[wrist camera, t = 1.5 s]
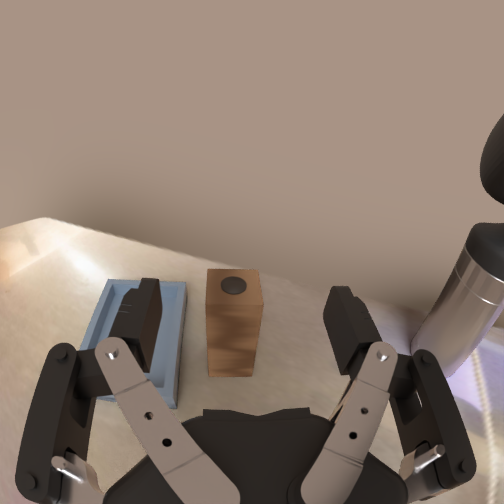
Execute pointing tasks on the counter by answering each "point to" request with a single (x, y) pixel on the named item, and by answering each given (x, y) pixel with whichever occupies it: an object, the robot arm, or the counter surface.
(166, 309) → the slate tray
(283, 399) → the counter surface
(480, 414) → the counter surface
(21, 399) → the counter surface
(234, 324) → the walnut block
